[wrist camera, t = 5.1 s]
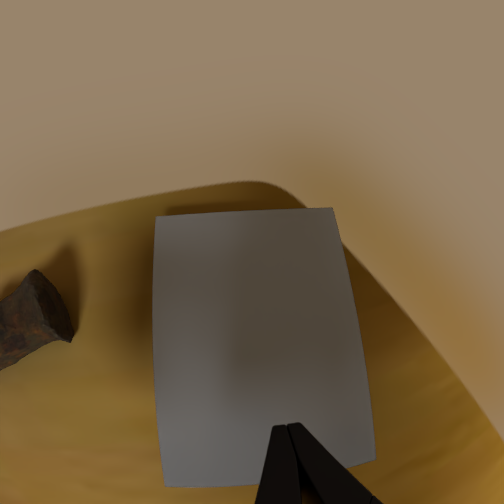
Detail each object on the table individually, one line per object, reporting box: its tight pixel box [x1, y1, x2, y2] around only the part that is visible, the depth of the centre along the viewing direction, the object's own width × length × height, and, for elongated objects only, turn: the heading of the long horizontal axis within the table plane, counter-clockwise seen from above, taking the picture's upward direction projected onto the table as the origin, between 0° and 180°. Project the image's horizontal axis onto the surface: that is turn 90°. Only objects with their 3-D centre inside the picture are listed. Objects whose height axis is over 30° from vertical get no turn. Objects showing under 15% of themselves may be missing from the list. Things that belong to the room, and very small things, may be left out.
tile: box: [152, 208, 376, 487], centre depth 15 cm, size 2×10×14 cm
